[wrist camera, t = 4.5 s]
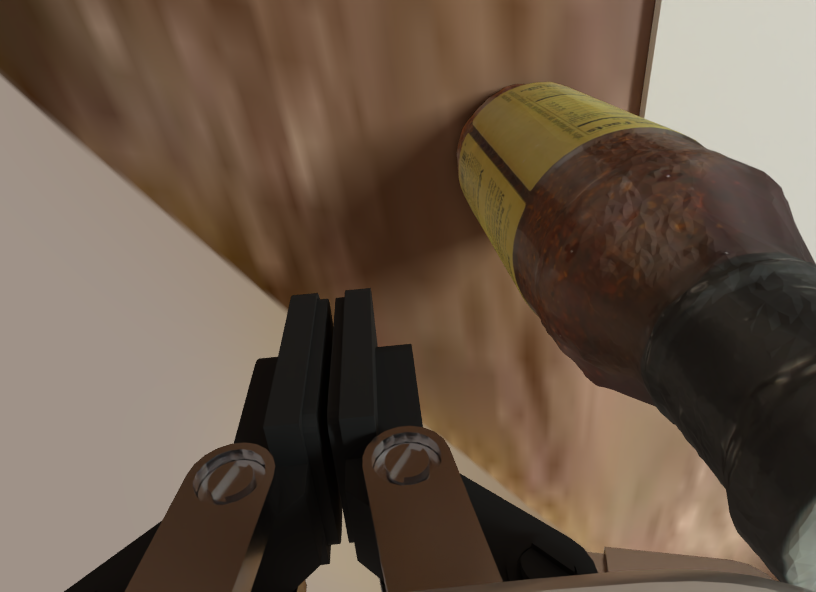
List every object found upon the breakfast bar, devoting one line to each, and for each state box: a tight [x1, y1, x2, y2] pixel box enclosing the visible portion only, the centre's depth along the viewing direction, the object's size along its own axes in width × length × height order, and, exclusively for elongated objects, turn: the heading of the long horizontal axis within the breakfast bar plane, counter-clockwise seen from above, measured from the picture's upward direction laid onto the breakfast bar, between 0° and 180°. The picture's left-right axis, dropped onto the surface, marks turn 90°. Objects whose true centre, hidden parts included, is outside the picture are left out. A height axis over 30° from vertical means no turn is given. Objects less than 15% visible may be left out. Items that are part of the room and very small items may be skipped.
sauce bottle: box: [457, 82, 816, 592], centre depth 16 cm, size 6×6×20 cm
